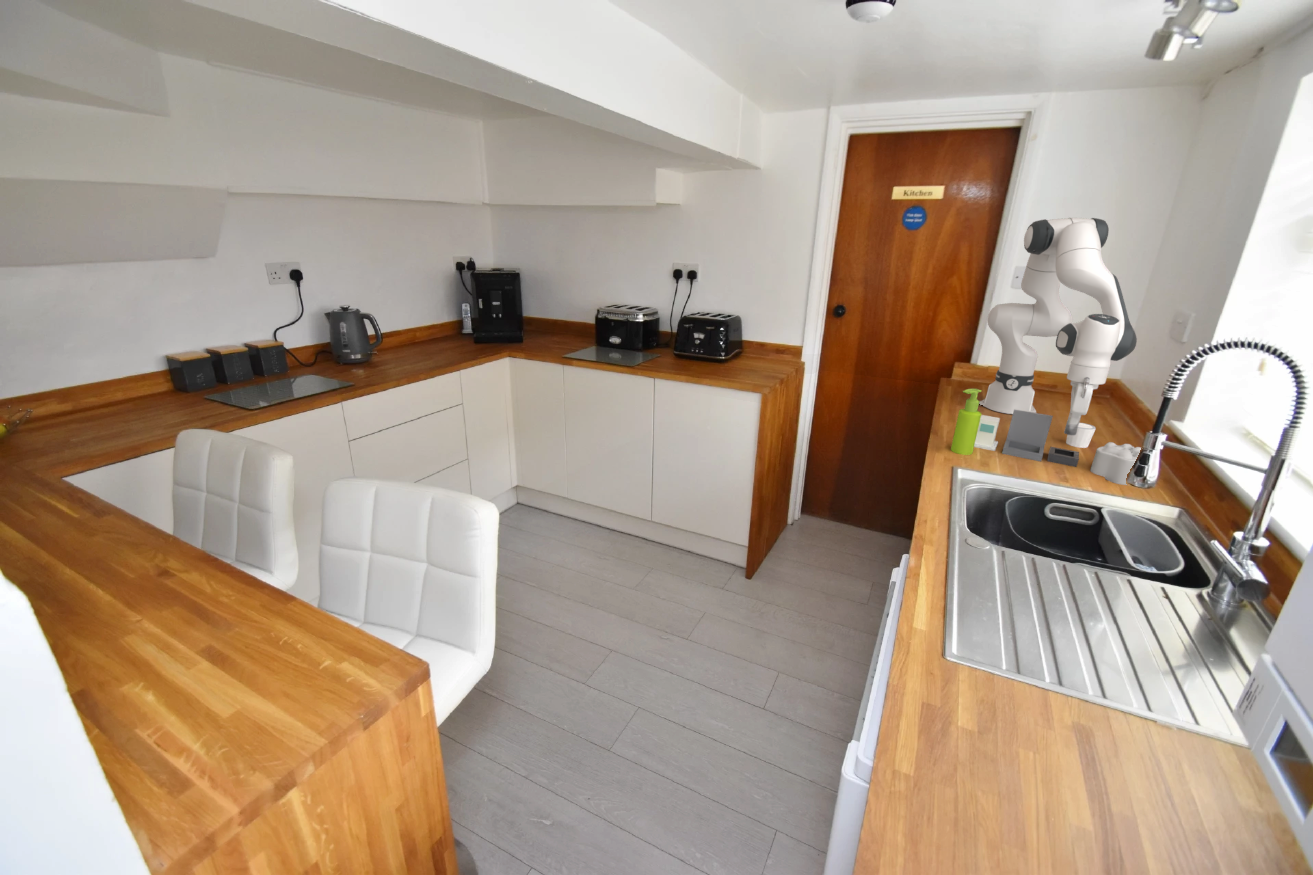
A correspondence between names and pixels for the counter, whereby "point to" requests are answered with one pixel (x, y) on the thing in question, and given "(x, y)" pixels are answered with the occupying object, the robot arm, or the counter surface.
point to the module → (987, 430)
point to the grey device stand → (1027, 435)
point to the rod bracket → (1063, 456)
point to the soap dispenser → (967, 425)
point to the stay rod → (1071, 426)
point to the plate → (987, 446)
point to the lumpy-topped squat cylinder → (1114, 461)
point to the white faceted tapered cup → (1081, 436)
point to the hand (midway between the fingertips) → (1073, 421)
